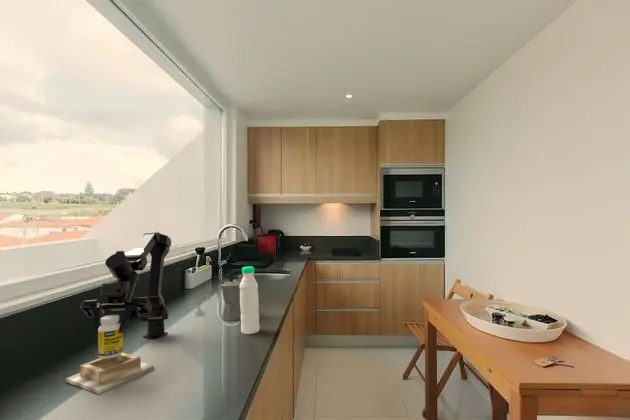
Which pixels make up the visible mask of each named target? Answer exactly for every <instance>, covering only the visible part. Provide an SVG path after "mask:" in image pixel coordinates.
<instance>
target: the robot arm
mask: <svg viewBox="0 0 630 420" xmlns="http://www.w3.org/2000/svg"><path fill="white" fill-rule="evenodd" d="M171 246H172V240H171V237H170V236H168V235H166V234H162V233H160V232H159V231H146V232H144V233H143V236H142V237H141V239H140V240H139V242H138V243H137V244H136V246H135V247H134V248H133V249H131V250H129V251H126V252H125V251H124V250H116V252H115V253H113V254H111V255H110V256H109V257H108V258H106V260H105V266H106V268H107V269H108V270H109V272H110V274H112V276H113V278H115V279H116V281H115V282H113V283H102V285H101V289H100V296H103V297H104V300H105V301H106V302H107V303H101V302H100V300H98V299H89V300H88V299H87V300H86V299H85V300H83V301H82V303H81V305H80V307H79V309H80V310H81V311H82V312H83V313H84V315H85V316H86V317H87V318H93V321H94V335H96V336H98V328H99V327H100V326H101V325H102V324H101V318H102V317H104V316H106V315H105V311H122V310H123V311H124V315H123V317H122V320H121V322H120V323H121V325H120V328H119V333H120V334H121V333H122V332H125V330H126V329H127V328H129V326H130V325H131V324H132V323H134V321H136V319H137V318H140V321H141V323H142V322H145V323H146V324H145V325H146V334H143V335H142V338H147V339H150V340H155V339H158V338H160V337H163V336H166V335H168V332H167V331H165V320H168V319H169V310H168V308H167V306H166V304H165V302H166V301H165V299H164V297H163V295H162V285H163V284H162V283H163V275H164V264H165V258H166V257H167V255H168V254H169V252H170V248H171ZM149 254H150V256H151V257H150V259H151V260H150V270H149V276H148V277H149V279H148V284H147V285H148V286H147V293H146V294H145V296H139V297H138V296H137V297H135V292H134V290H135V288H136V285H137V283H139V282H140V278H139V274H138V272H139V271H144V270H145V268H146V267H147V265H148V258H147V257H148V256H149Z"/></svg>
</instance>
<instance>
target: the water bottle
mask: <svg viewBox="0 0 630 420" xmlns="http://www.w3.org/2000/svg"><path fill="white" fill-rule="evenodd" d="M241 273H242V275H243V276H242V279H241V281H240V282H241V283H240V286H239V287H240V309H241V319H240V332H241V333H242V334H244V335H253V334H257V333H258V332H259V331H260V329H261V328H260V313H259V312H260V311H259V306H260V305H259V303H260V302H259V290H258V289H259V284H258V282H257V280H256V278H255V276H254V274H255V267H254V266H251V265H250V266H243V267H241Z"/></svg>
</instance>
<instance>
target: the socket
mask: <svg viewBox="0 0 630 420" xmlns="http://www.w3.org/2000/svg"><path fill="white" fill-rule="evenodd" d="M141 359H142V358H141V357H140V356H137V355H133V354H129V353H125V352H123V353H122V354H121V355H119V356H117V357H113V358H109V359H101V358H99V357H98V358H97V359H94V360H91V361H89V362H86V363H84V364H80V366H79V371H80V372H78V373H76V374H74V375H71V376H69V377H66V378H65V382H66V383H69V384H70V385H74V386H76V387H79V388H81V389H84V390H85V391H89V392H92V393H95V394H97V395H99V394H101V393H104V392H106V391H108V390H111V389H113V388H114V387H118V386H119V385H121V384H124V383H125V382H129V381H131V380H132V379H136V378H137V377H139V376H142V375H143V374H147V373H149V372H150V371H153V370H154V369H155V365H153V364H150V363H145V362H142V360H141Z"/></svg>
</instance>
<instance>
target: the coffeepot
mask: <svg viewBox="0 0 630 420" xmlns="http://www.w3.org/2000/svg"><path fill="white" fill-rule="evenodd" d="M241 282H242V281H240V282H239V281H234V277H232V276H230V277H229V281H225V280H222V282H221V284H220V288H221V289H220V290H221V292H222V299H223V308H222V316H221V317H222V320H223V321H226V322H233V321H238V320H241V309H240V287H239V286H240V283H241Z"/></svg>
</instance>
